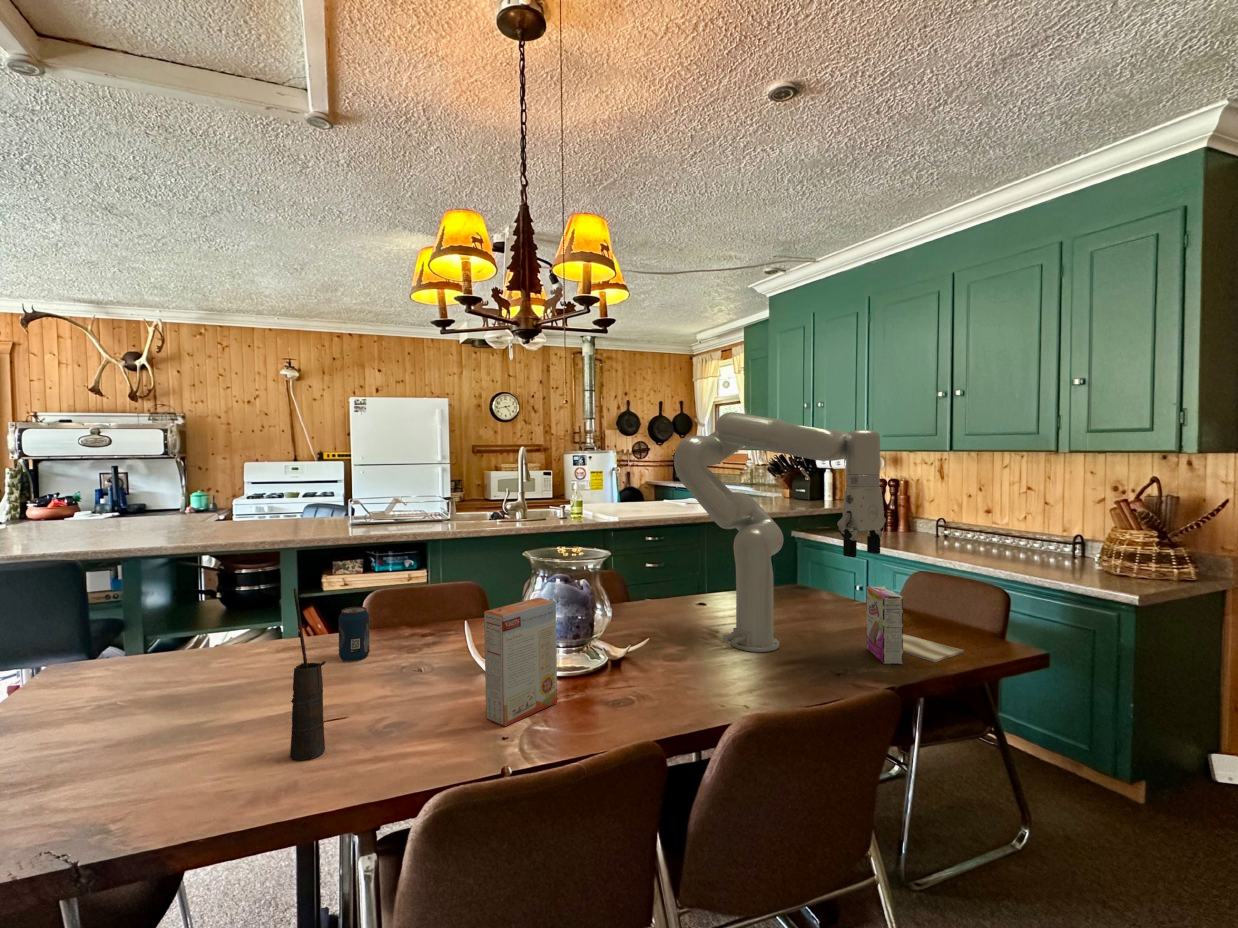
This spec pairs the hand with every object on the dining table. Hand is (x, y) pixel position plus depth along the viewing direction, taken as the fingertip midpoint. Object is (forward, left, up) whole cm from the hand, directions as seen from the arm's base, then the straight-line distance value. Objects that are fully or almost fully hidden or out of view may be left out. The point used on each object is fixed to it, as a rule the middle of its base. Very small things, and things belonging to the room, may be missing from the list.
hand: (861, 554), depth 146 cm
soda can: (-101, +70, -26) cm, 126 cm away
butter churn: (-115, +23, -26) cm, 120 cm away
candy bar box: (+9, 0, -26) cm, 28 cm away
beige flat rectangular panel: (+22, 0, -26) cm, 34 cm away
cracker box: (-79, +19, -26) cm, 86 cm away
